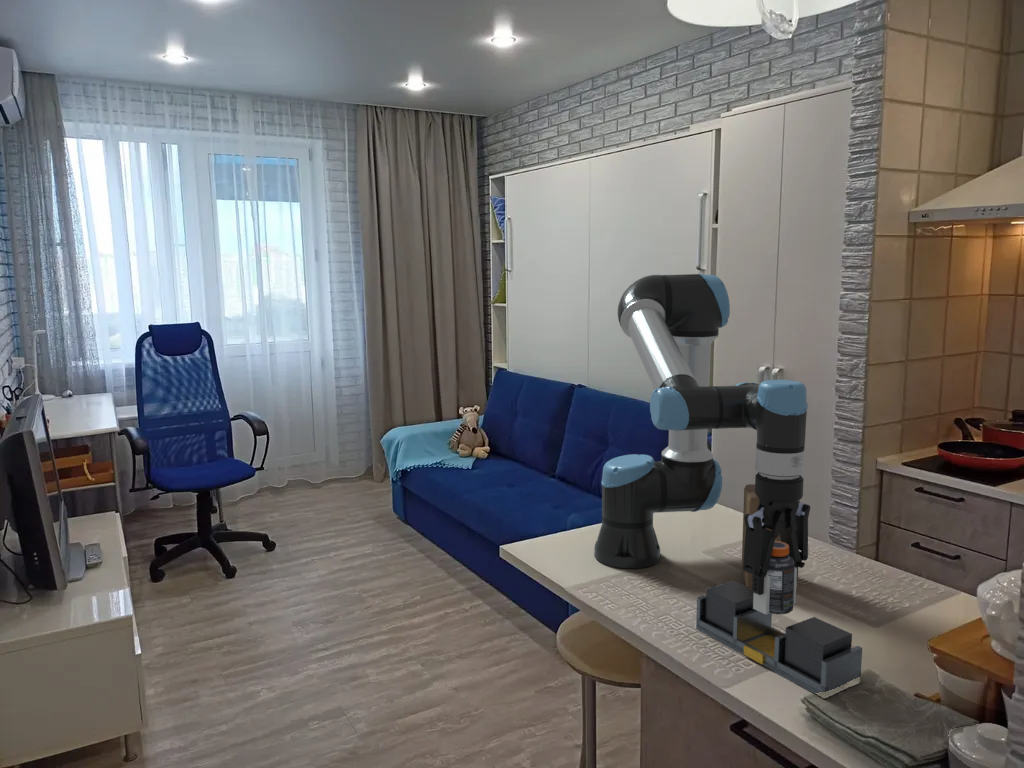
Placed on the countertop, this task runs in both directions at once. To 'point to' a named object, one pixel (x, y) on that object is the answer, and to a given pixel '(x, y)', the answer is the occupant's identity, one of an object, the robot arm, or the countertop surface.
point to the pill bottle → (781, 579)
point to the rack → (779, 640)
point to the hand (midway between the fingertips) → (774, 606)
